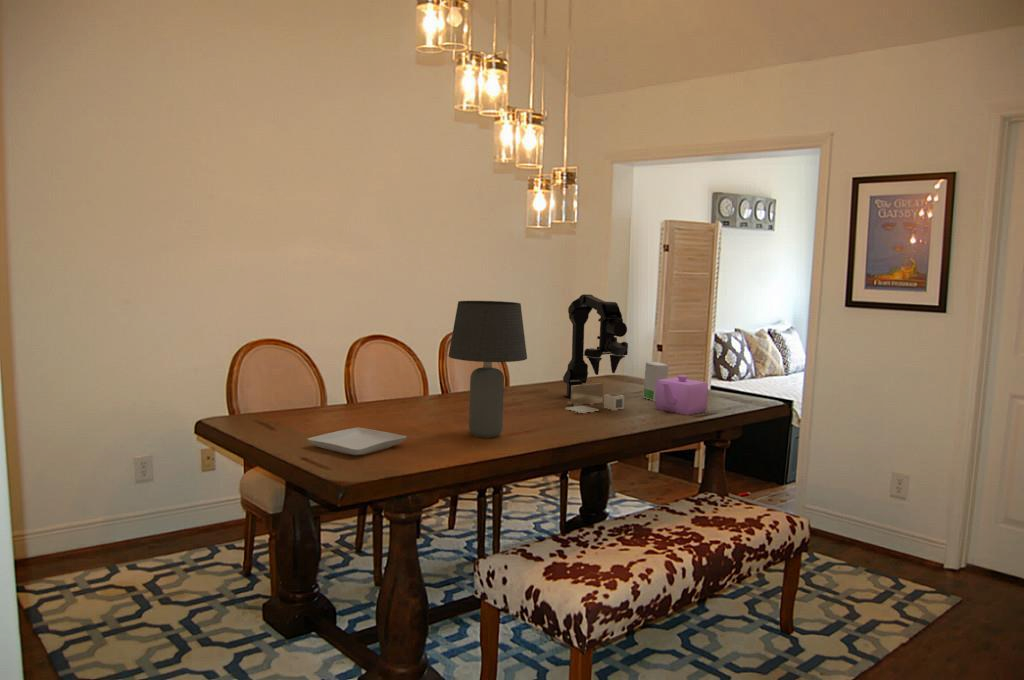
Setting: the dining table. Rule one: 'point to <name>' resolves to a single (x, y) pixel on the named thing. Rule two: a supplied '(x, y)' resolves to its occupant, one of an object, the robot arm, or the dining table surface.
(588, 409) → the cream square tile
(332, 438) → the salad plate
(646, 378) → the skincare box
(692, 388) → the violet knobbed box
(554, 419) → the dining table surface
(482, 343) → the lamp
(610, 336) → the robot arm
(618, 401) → the cream grey-paneled cube
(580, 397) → the oak screen
